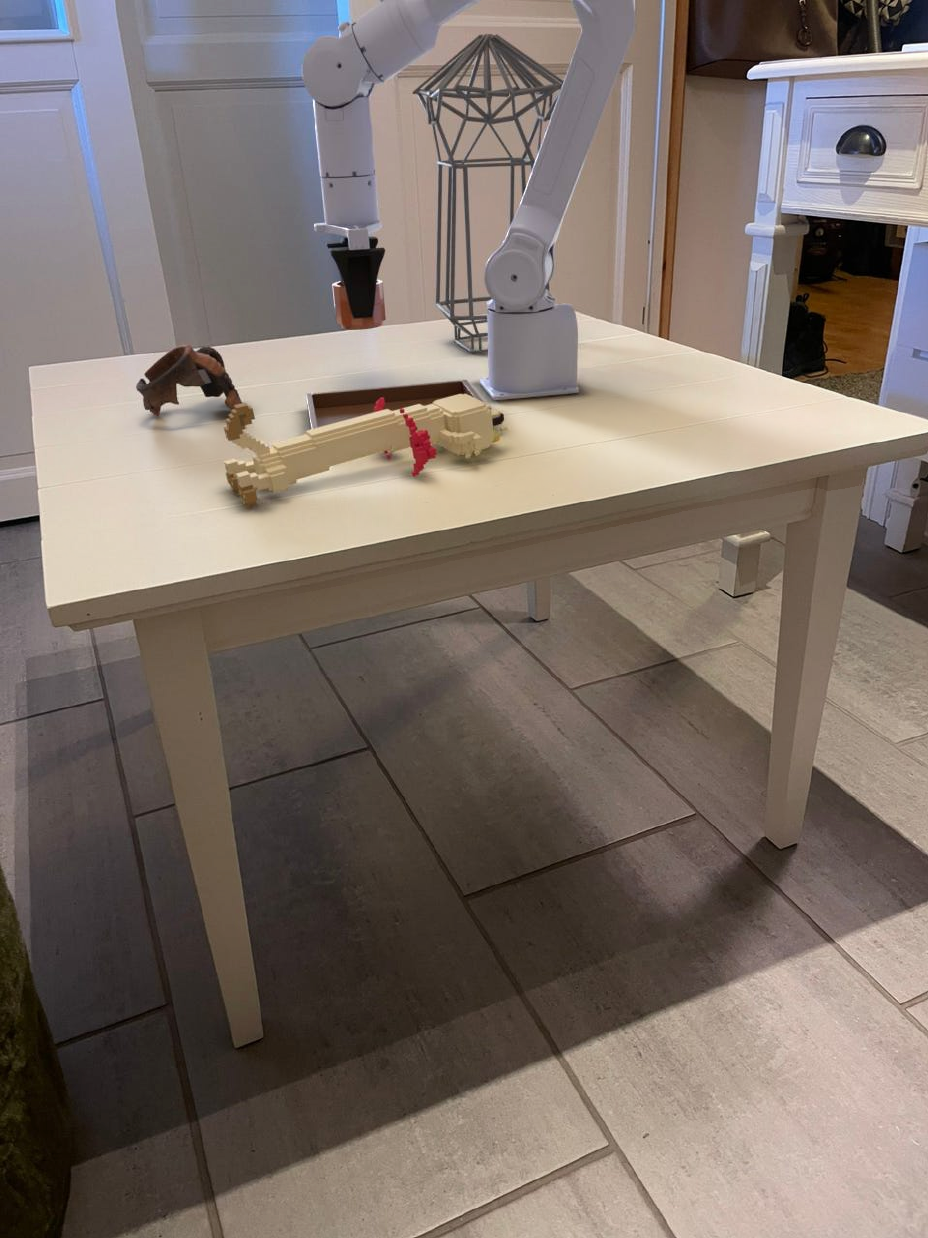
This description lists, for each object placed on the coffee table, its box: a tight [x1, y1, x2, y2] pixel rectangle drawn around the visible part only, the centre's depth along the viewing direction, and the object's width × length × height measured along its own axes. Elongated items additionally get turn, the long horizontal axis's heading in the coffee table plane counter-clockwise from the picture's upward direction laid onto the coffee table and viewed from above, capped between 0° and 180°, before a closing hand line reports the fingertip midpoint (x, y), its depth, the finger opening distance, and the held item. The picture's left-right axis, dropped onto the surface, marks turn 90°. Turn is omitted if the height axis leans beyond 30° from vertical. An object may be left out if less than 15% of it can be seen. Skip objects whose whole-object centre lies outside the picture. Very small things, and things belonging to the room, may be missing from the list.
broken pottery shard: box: [135, 343, 243, 417], centre depth 99 cm, size 12×10×8 cm
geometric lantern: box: [412, 33, 564, 354], centre depth 116 cm, size 16×16×35 cm
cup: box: [331, 279, 386, 331], centre depth 103 cm, size 5×6×4 cm
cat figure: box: [223, 394, 509, 509], centre depth 80 cm, size 10×9×25 cm
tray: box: [305, 379, 485, 430], centre depth 94 cm, size 17×13×2 cm
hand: (360, 312), depth 103 cm, fingers closed on cup, 5 cm apart
